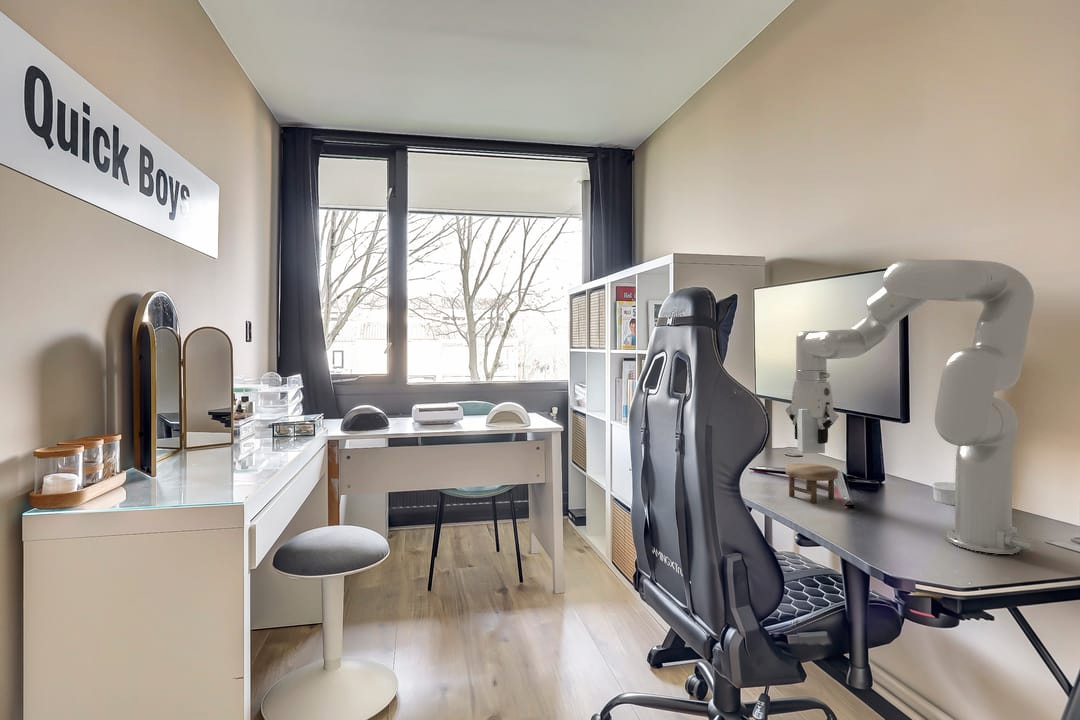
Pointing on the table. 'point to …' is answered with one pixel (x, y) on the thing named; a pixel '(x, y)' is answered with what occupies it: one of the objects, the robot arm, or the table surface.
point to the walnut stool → (811, 479)
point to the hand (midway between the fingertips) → (810, 440)
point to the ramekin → (944, 492)
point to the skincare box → (808, 433)
